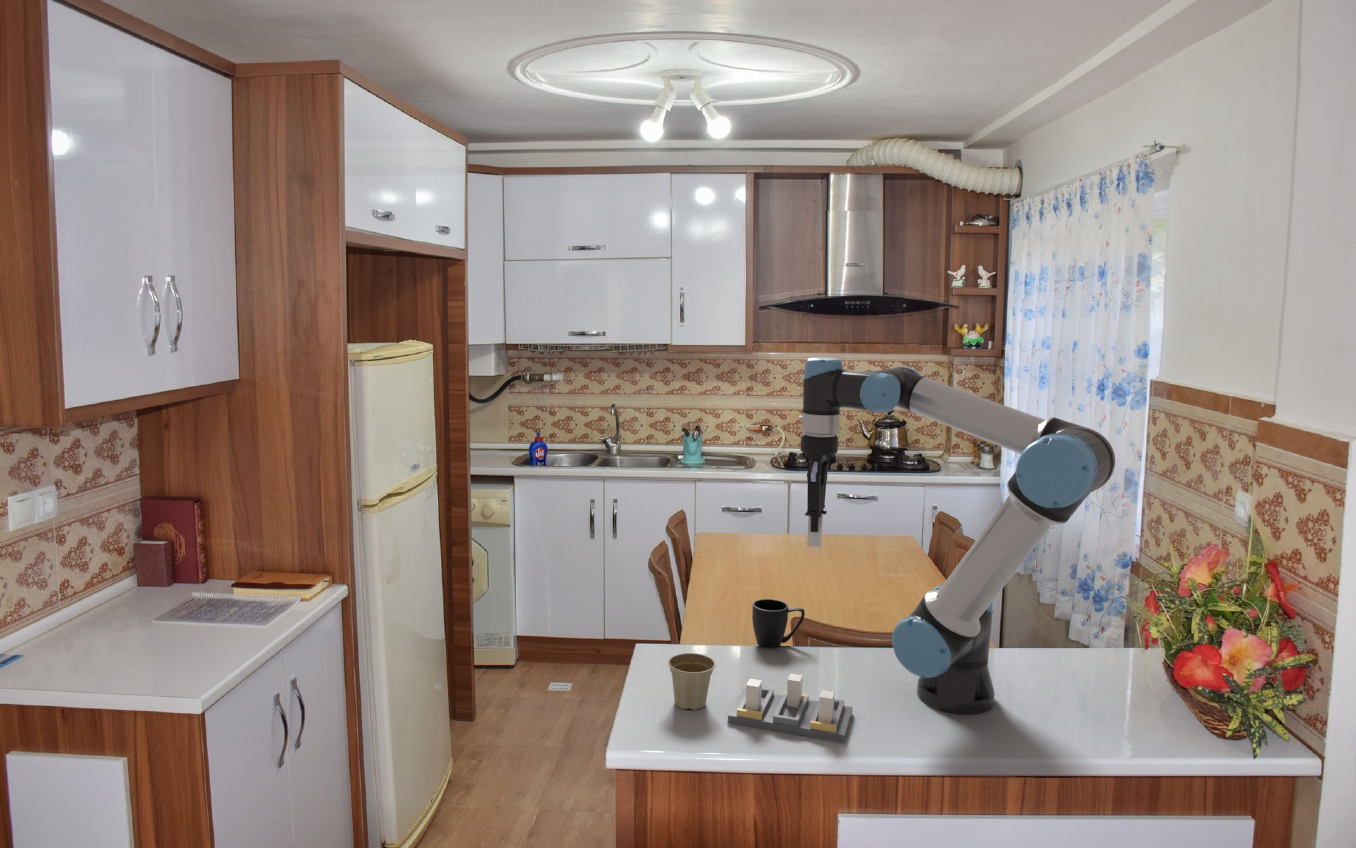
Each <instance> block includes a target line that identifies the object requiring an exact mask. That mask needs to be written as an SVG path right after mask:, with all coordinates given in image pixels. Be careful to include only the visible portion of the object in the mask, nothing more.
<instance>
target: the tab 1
mask: <svg viewBox="0 0 1356 848" xmlns="http://www.w3.org/2000/svg"><path fill="white" fill-rule="evenodd" d="M762 688H763V680H760V679H755V678H749V679H748V681H747V683H746V686H745V690H746V705H745V709H747V710H752V711H759V709H760V708H761V694H762Z"/></svg>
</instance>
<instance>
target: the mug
mask: <svg viewBox="0 0 1356 848" xmlns="http://www.w3.org/2000/svg"><path fill="white" fill-rule="evenodd" d="M751 612H752V613H751V614H752V615H751V618H752V628H753V631H754V636H755V640H756V644H757V645H758V646H759V647H760V648H764V649H777V648H779V647H780V646H782V644H785V643H787V642H788V641H789V640H790V639H791V638H792V637H793V636H794V634H796V632H797V630H798V629H799V628H800V626H801V625H802V623H803V621H804V619H805V609H804V608H801V607H792V608H791V607H790V608H789V604H788V603H787V602H785V601H783V600H779V599H773V598H763V599H757V600H755V601H753V603H752V611H751ZM792 612H801V614H800V618H799V620H798V622H797V624H795V626H794V627H793V629H792V630H791V631H790V633H788V634H787V635H785V632H786V629H787V625H788V620H789V619H788V618H789V613H792Z"/></svg>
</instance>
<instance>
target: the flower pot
mask: <svg viewBox="0 0 1356 848" xmlns="http://www.w3.org/2000/svg"><path fill="white" fill-rule="evenodd" d="M667 665H668V667H669V669H670V673H671V677H672V678H671V679H672V688H673V689H672V690H673V701H674V704H675V706H677V707H678V708H679V709H682V710H688V709H690V710H693V711H695V710H699V709H702V708H704V707H705V706H706V704H707V698H708V691H709V685H710V681H711V677H712V674H713V671H714V670H715V668H716V665H717V664H716V661H715V660H714V659H713V658H712V657H710V656H708V655H705V654H701V653H697V652H696V653H694V652H685V653H684V652H683V653H678V654H676V655H675V654H674V655H673V656H671V657H670V658H668V660H667Z"/></svg>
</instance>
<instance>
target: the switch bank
mask: <svg viewBox="0 0 1356 848" xmlns="http://www.w3.org/2000/svg"><path fill="white" fill-rule="evenodd" d="M809 697H810V695H809V694H804V693H802V702H801V704H800V707H799V708H794V707H788V706H787V691H786V690H785V691H784V692H783V694H775V689H774V688H766V687H762V694H761V708H760V709H759V711H752V710H747V709H745V705H746V688H745V689H743V688H742V691H741V692H740V694H739V696H738V697H737V699H736V701H735V703H734V704H733V706H732V707H731V709H730V711H729V713H728V714H727V723H729V724H732V725H738V726H739V725H740V726H744V727H745V726H746V727H751V728H755V729H756V728H757V729H761V730H767V731H773V732H779V733H784V734H788V735H789V734H790V735H796V736H801V737H807V738H813V739H818V740H825V741H830V742H835V743H842V744H845V740H846V737H847V733H848V731H849V727H850V723H851V720H852V717H853V709H854V708H853V706H849V705H845V700H840V699H835V698H834V715H833V722H832V724H829V723H823V722H818V716H819V700H818V701H817V700H812V699H809Z"/></svg>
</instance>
